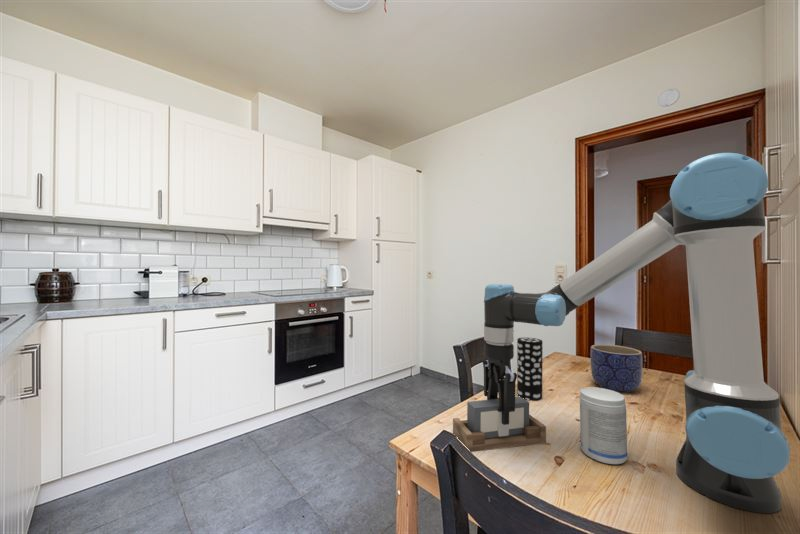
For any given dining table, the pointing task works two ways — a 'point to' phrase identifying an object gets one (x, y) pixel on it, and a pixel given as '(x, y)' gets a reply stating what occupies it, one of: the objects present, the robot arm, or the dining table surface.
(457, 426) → the tray
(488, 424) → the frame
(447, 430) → the dining table surface
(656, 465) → the dining table surface
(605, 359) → the planter
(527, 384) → the spotted tube
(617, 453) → the supplement tub
